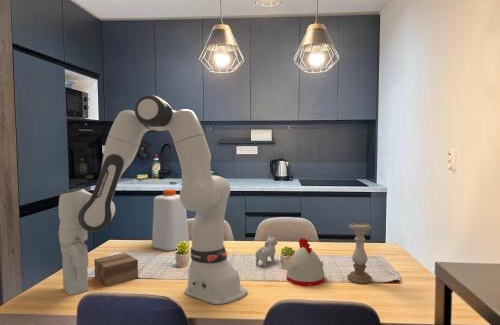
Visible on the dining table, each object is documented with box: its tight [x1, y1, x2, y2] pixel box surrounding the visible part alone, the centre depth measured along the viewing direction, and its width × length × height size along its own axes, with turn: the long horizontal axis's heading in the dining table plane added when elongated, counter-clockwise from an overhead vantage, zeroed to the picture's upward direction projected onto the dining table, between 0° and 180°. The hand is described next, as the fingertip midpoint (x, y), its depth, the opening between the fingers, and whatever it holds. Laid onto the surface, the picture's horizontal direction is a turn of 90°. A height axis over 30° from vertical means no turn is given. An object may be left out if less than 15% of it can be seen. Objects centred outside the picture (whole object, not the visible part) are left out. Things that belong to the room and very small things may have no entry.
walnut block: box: [93, 252, 139, 287], centre depth 139 cm, size 12×12×7 cm
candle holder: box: [347, 222, 373, 285], centre depth 134 cm, size 9×9×20 cm
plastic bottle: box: [151, 188, 190, 252], centre depth 180 cm, size 15×15×28 cm
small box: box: [61, 252, 89, 296], centre depth 128 cm, size 8×6×13 cm
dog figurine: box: [255, 235, 279, 268], centre depth 155 cm, size 5×13×11 cm, turn 144°
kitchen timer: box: [286, 237, 325, 287], centre depth 136 cm, size 14×14×15 cm
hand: (75, 274), depth 128 cm, fingers open, 8 cm apart
